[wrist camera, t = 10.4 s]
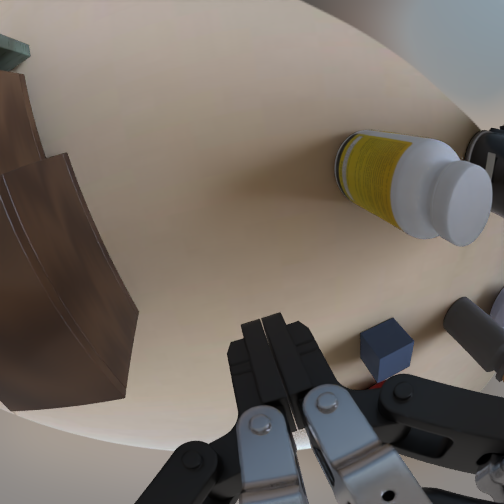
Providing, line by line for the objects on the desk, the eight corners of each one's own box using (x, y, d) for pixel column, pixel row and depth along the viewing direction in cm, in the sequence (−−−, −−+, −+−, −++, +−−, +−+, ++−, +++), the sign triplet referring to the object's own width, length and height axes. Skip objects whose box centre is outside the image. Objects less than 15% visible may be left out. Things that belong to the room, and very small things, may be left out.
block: (360, 332, 31) (379, 359, 27) (393, 317, 31) (414, 341, 27) (360, 357, 33) (377, 383, 29) (390, 343, 33) (409, 366, 29)
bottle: (454, 296, 33) (524, 361, 19) (473, 295, 34) (537, 352, 21) (437, 331, 35) (498, 397, 22) (457, 327, 36) (514, 386, 23)
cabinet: (-30, 215, 16) (-94, 261, 8) (67, 151, 17) (-7, 177, 9) (40, 341, 23) (10, 411, 14) (139, 311, 24) (125, 398, 15)
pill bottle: (328, 204, 23) (422, 269, 13) (332, 125, 21) (443, 139, 10) (390, 202, 24) (486, 256, 14) (396, 133, 22) (505, 157, 11)
